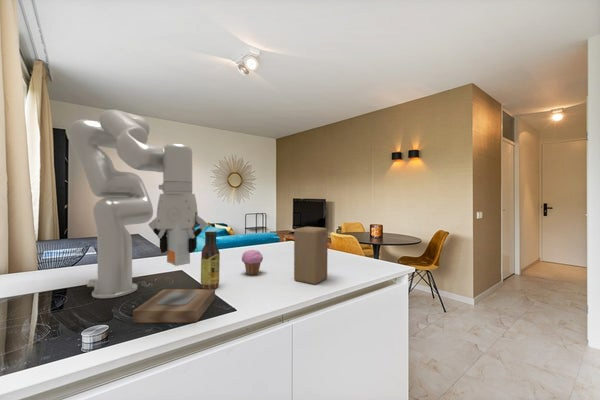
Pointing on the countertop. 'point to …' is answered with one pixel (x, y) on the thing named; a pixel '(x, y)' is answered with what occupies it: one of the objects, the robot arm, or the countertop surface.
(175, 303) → the walnut picture frame
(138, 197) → the robot arm
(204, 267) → the sauce bottle
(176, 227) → the skincare box
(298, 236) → the wooden block
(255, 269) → the cupcake
